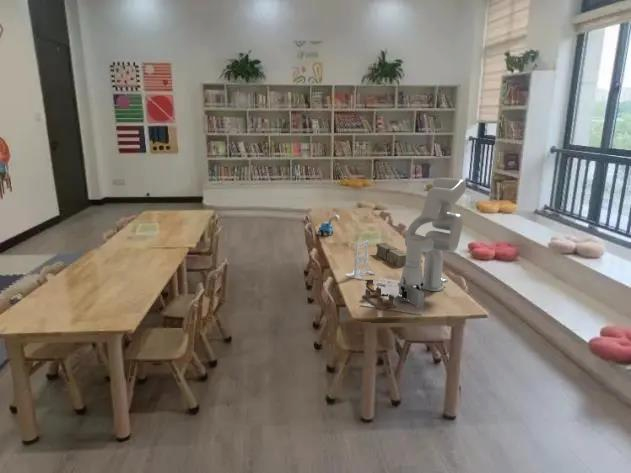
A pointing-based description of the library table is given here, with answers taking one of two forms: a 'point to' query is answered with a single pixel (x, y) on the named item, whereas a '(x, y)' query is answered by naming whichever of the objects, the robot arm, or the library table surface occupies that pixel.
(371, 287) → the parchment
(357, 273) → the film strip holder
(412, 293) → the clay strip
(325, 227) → the toy excavator
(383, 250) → the grey-brown long block
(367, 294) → the rack
